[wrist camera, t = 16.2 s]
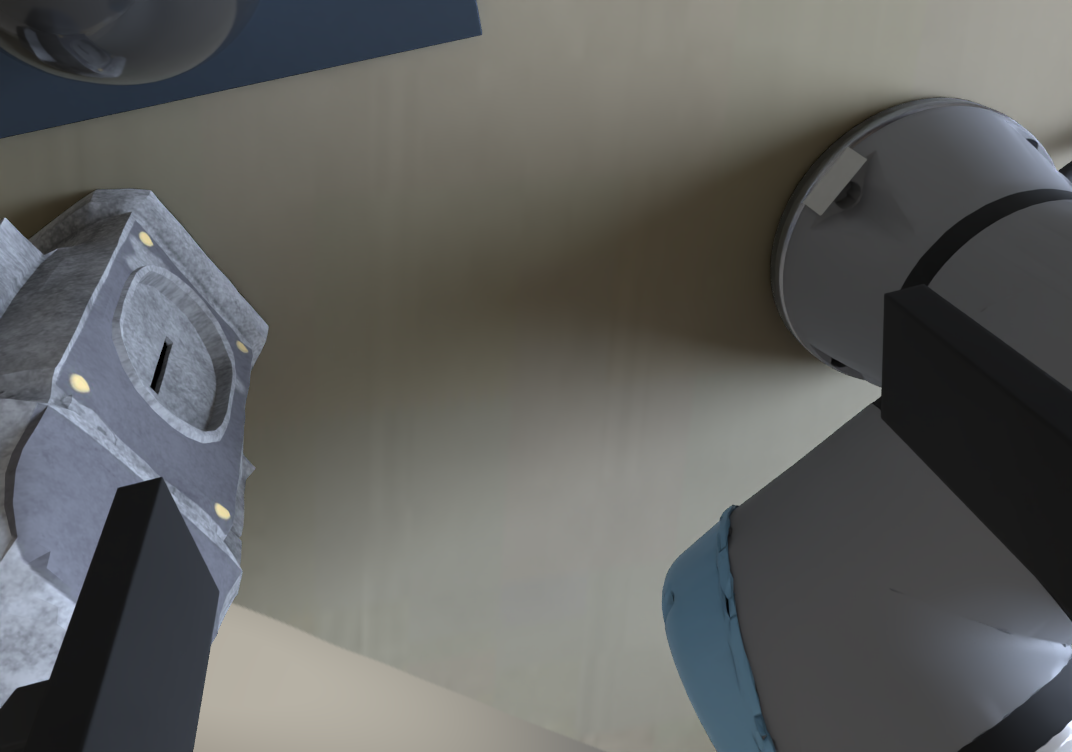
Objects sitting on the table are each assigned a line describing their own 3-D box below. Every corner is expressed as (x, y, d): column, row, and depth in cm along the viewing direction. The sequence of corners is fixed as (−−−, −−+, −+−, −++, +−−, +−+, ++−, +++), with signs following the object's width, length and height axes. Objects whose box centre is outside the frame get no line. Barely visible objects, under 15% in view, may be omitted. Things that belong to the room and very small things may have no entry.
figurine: (101, 127, 38) (-170, 488, 17) (310, 364, 45) (302, 817, 24) (-78, 250, 39) (-545, 733, 18) (156, 461, 46) (19, 976, 25)
